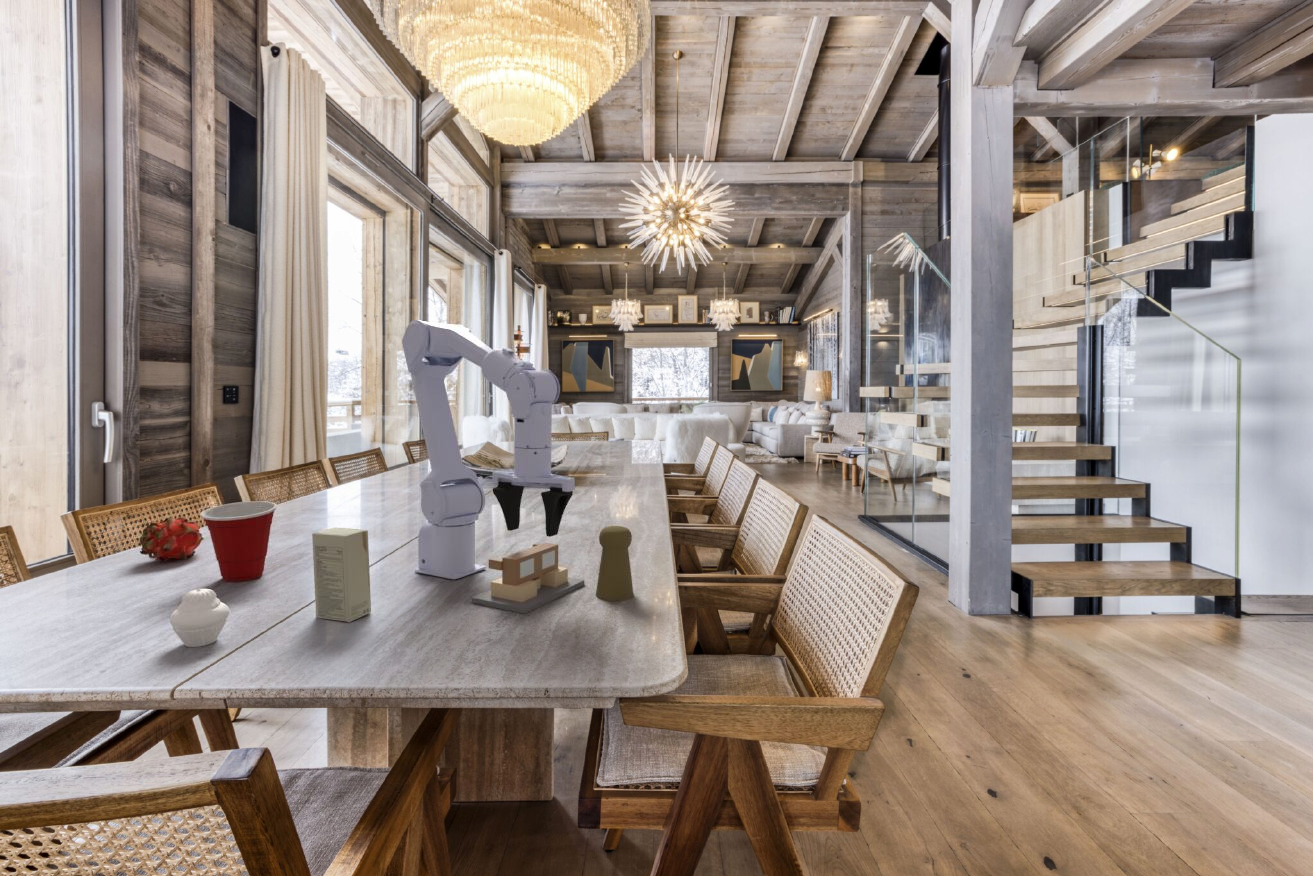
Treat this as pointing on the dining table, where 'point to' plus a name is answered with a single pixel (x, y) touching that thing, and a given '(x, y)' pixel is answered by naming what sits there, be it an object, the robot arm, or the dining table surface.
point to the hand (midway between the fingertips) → (532, 532)
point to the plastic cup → (240, 537)
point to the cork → (615, 565)
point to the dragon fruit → (170, 539)
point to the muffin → (199, 618)
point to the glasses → (527, 563)
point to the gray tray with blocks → (528, 592)
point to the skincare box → (341, 574)
